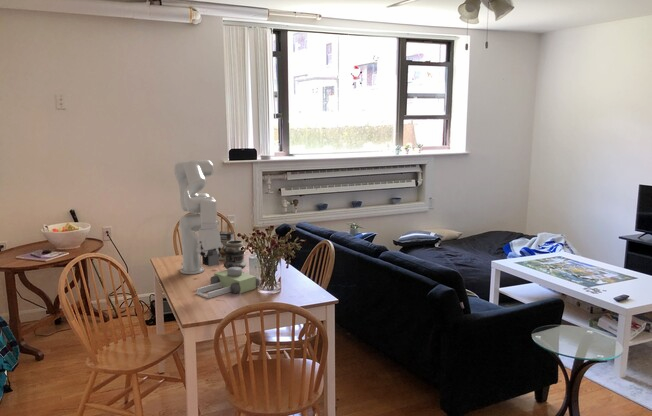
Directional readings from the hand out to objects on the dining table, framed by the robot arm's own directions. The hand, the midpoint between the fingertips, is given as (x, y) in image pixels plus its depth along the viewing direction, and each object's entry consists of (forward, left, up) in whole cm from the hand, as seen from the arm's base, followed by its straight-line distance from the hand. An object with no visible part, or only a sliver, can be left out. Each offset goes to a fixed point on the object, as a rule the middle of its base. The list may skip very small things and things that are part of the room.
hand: (210, 262), depth 242 cm
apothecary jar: (-16, +27, -15) cm, 35 cm away
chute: (0, 0, -1) cm, 1 cm away
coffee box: (-45, +43, -15) cm, 64 cm away
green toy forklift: (0, +8, -15) cm, 17 cm away
